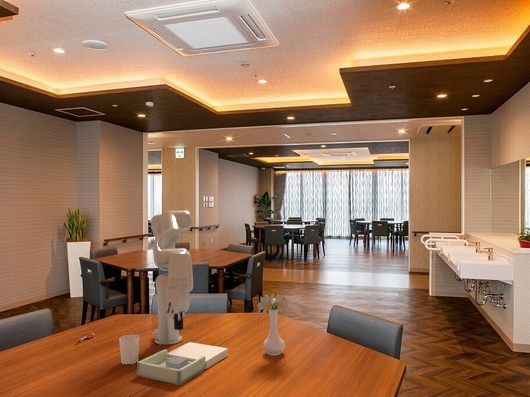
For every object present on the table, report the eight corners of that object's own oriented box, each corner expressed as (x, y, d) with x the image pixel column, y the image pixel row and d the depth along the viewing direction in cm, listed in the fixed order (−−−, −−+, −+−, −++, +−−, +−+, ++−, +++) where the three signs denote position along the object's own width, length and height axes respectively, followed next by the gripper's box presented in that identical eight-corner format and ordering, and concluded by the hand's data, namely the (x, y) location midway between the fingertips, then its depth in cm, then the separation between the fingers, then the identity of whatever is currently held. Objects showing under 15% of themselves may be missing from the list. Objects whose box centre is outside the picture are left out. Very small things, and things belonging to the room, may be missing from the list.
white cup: (143, 359, 177) (143, 335, 177) (131, 366, 169) (131, 341, 169) (127, 357, 179) (127, 333, 179) (115, 364, 172) (115, 339, 172)
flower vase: (288, 345, 191) (287, 290, 192) (288, 360, 173) (287, 299, 173) (259, 345, 192) (259, 290, 193) (256, 360, 174) (255, 299, 174)
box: (137, 375, 160) (137, 362, 160) (165, 361, 174) (165, 349, 174) (179, 385, 151) (179, 371, 151) (205, 369, 165) (205, 356, 165)
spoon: (97, 336, 210) (96, 333, 210) (69, 350, 190) (69, 347, 190) (89, 336, 211) (89, 332, 211) (61, 350, 191) (61, 346, 191)
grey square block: (165, 369, 163) (165, 361, 163) (175, 364, 168) (175, 356, 168) (178, 372, 160) (178, 364, 160) (187, 366, 166) (187, 358, 166)
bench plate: (165, 361, 175) (165, 353, 175) (189, 348, 189) (189, 342, 189) (206, 368, 166) (206, 361, 166) (227, 355, 180) (227, 348, 180)
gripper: (182, 278, 175) (182, 322, 176) (158, 285, 162) (158, 333, 162) (197, 280, 172) (197, 325, 172) (173, 287, 159) (174, 336, 159)
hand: (178, 329), depth 167 cm, fingers closed
